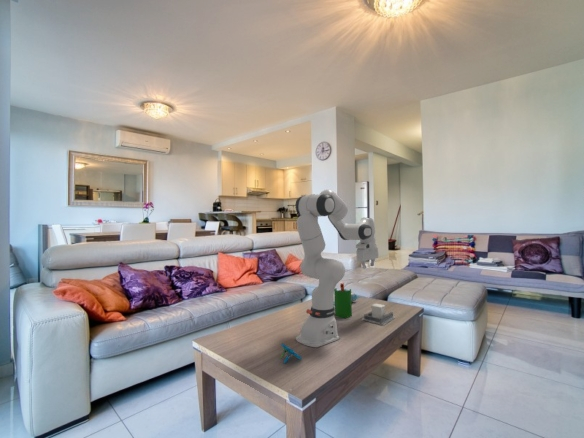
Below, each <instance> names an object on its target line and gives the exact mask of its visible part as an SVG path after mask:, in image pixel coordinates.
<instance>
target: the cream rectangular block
mask: <svg viewBox="0 0 584 438" xmlns="http://www.w3.org/2000/svg"><path fill="white" fill-rule="evenodd" d="M371 311H372V317H376V318H382V317H383V316H385V314H386V305H385V304H380V303H373V304H371Z"/></svg>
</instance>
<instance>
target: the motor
mask: <svg viewBox="0 0 584 438" xmlns="http://www.w3.org/2000/svg"><path fill="white" fill-rule="evenodd" d="M339 285H340V286H339V287H340V289H339V290H337V289H338V288H336V287H335V289H334V301H335V306H334V308H335V314H334V317H337V318H342V319H344V318H345V319H347V318H348V319H349V318H351V317H352V316H353V314H352V313H353V310H352V309H353V307H352V306H353V305H352V303H353V301H351V292H352V289H351V288H349V289H348V290H349V291H346V290H344V289H345V284H344V283H343V282H342V283H341V282H340V284H339Z"/></svg>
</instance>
